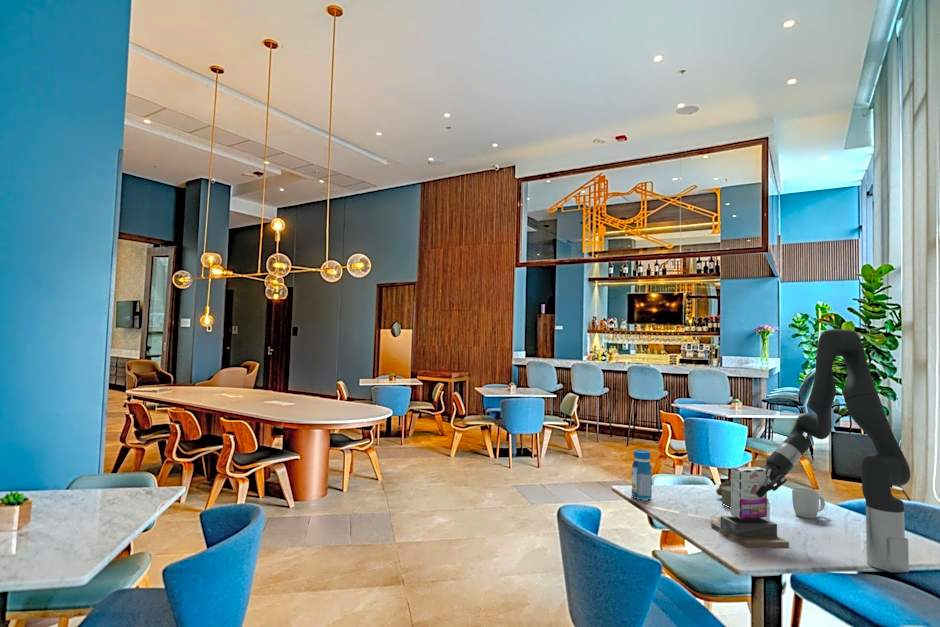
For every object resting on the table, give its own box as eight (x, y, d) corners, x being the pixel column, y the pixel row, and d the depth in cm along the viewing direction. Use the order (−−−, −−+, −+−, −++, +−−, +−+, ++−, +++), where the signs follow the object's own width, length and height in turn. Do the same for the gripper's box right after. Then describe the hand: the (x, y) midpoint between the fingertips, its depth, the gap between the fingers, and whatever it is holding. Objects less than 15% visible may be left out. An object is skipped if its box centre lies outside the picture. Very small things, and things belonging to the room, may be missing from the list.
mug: (804, 520, 206) (804, 493, 206) (787, 512, 215) (786, 487, 215) (833, 519, 208) (832, 493, 209) (814, 512, 217) (814, 487, 217)
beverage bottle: (645, 502, 223) (646, 453, 225) (627, 497, 230) (628, 450, 231) (655, 498, 229) (656, 451, 230) (637, 494, 235) (638, 448, 237)
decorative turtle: (756, 500, 232) (755, 482, 232) (726, 504, 228) (726, 486, 228) (739, 493, 241) (738, 476, 241) (711, 497, 237) (710, 479, 237)
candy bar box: (756, 512, 188) (756, 466, 189) (767, 517, 184) (768, 469, 184) (729, 514, 186) (730, 466, 186) (739, 519, 181) (740, 470, 181)
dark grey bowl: (714, 502, 226) (714, 486, 227) (737, 501, 230) (737, 485, 230) (737, 511, 215) (737, 493, 215) (760, 509, 219) (760, 492, 219)
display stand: (789, 546, 175) (789, 529, 175) (747, 547, 173) (747, 530, 173) (749, 526, 195) (749, 511, 195) (711, 527, 193) (711, 511, 193)
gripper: (763, 447, 195) (732, 480, 192) (791, 455, 180) (759, 491, 178) (776, 461, 195) (746, 495, 193) (806, 471, 181) (774, 507, 178)
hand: (752, 493), depth 185 cm, fingers closed on candy bar box, 5 cm apart
